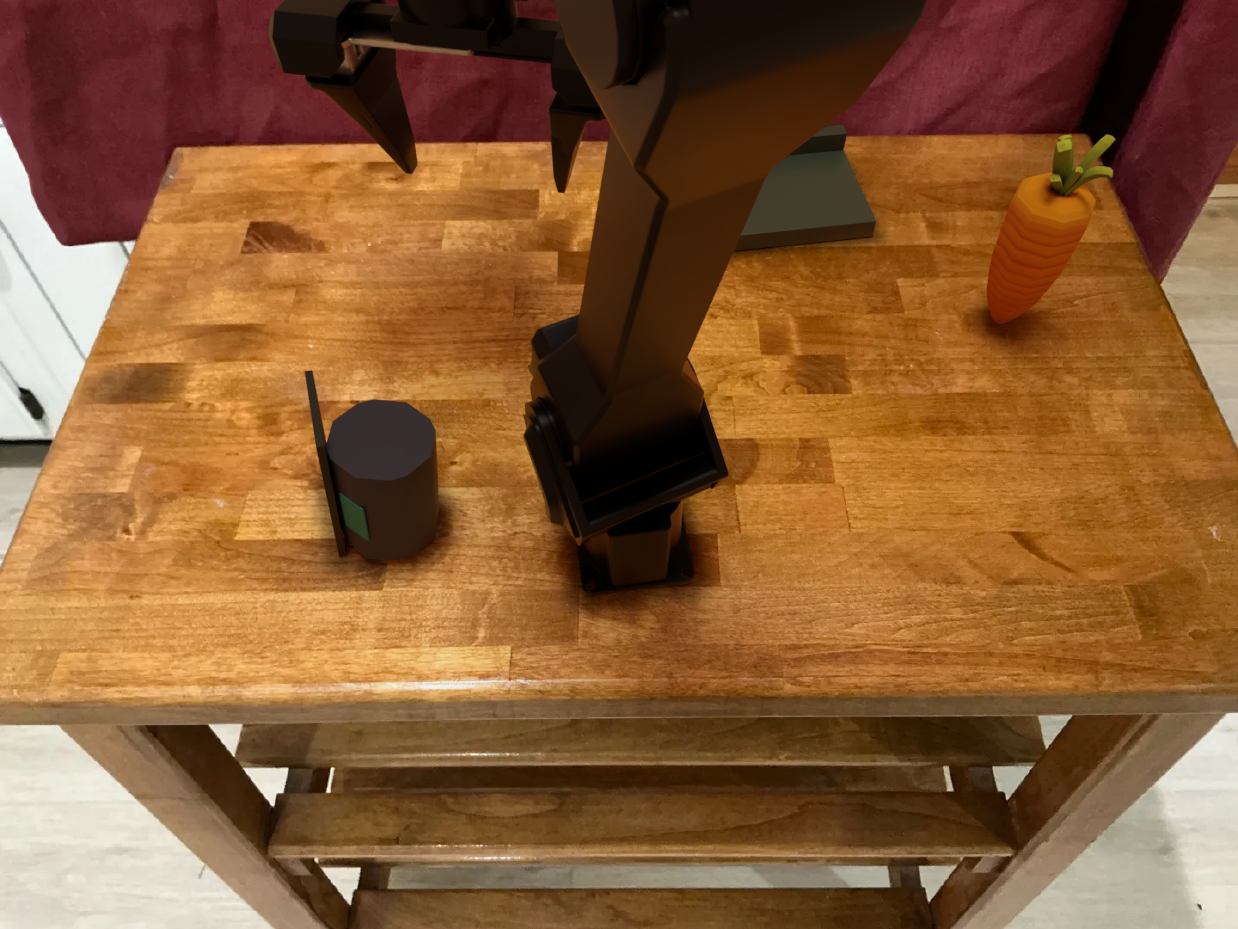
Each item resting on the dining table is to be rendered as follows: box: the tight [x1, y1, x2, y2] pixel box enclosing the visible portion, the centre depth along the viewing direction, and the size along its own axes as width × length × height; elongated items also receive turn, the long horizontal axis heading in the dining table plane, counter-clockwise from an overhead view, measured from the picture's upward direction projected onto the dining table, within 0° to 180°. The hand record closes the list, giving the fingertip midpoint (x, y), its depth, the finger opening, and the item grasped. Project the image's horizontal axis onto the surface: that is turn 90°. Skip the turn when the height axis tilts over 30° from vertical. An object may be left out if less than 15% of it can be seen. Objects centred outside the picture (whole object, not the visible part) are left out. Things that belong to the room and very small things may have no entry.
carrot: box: [986, 134, 1116, 325], centre depth 57 cm, size 5×5×15 cm
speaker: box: [304, 369, 440, 562], centre depth 50 cm, size 8×6×10 cm
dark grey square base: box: [734, 124, 877, 252], centre depth 70 cm, size 10×12×3 cm
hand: (486, 178), depth 52 cm, fingers open, 9 cm apart
